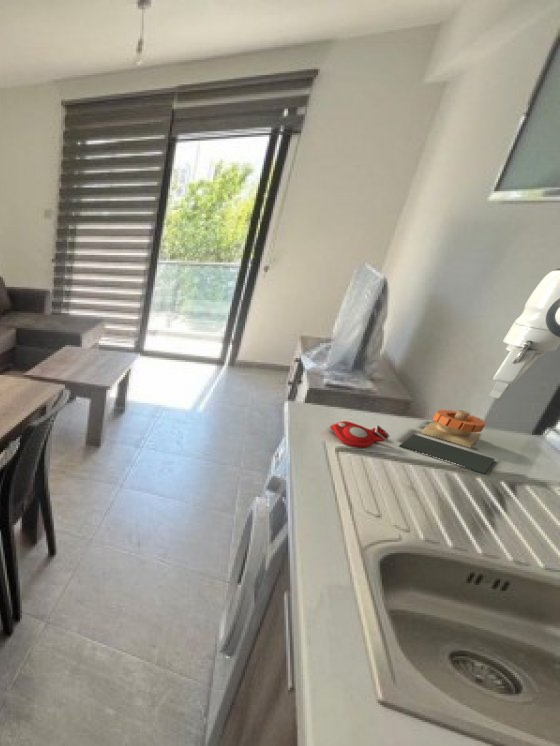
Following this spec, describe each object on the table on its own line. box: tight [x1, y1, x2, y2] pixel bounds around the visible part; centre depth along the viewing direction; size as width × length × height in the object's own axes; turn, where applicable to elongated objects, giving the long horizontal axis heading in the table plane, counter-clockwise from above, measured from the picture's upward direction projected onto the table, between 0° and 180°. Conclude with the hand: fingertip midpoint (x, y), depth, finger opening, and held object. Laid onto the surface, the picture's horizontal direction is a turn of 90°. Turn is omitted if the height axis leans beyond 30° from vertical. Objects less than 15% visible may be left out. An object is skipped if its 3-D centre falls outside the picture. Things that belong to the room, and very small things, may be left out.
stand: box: [421, 409, 482, 449], centre depth 127 cm, size 10×10×7 cm
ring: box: [432, 409, 487, 433], centre depth 127 cm, size 10×10×2 cm
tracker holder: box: [330, 420, 391, 449], centre depth 123 cm, size 12×4×10 cm
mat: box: [398, 433, 496, 475], centre depth 119 cm, size 16×12×1 cm
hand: (498, 393), depth 120 cm, fingers open, 8 cm apart
